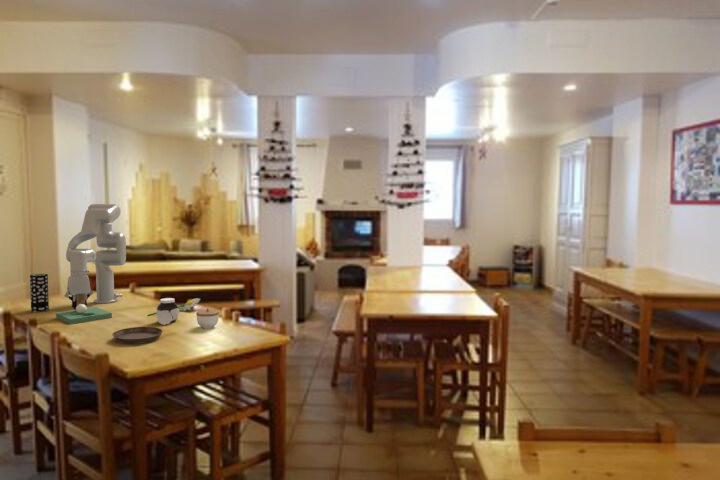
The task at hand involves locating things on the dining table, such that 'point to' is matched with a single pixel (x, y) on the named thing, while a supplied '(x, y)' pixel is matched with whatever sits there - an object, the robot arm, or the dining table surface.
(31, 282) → the spotted tube
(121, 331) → the plant saucer
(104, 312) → the putting mat
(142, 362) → the dining table surface
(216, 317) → the lidded jar
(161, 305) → the spread jar
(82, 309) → the ball
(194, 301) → the decorative flower
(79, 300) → the brown block
